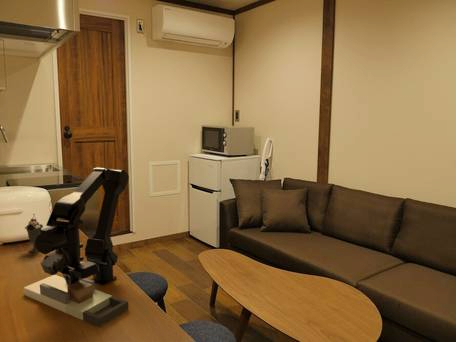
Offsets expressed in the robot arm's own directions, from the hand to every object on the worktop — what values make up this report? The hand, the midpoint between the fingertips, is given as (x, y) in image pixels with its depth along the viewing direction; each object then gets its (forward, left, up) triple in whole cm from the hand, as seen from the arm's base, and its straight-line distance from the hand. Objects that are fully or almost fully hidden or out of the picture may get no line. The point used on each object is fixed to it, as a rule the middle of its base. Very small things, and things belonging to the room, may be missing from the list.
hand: (71, 290), depth 119 cm
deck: (+3, 0, -4) cm, 5 cm away
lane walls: (+2, 0, -1) cm, 2 cm away
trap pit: (-15, 0, -4) cm, 15 cm away
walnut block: (-4, 0, -1) cm, 4 cm away
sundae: (+47, -19, -4) cm, 51 cm away
